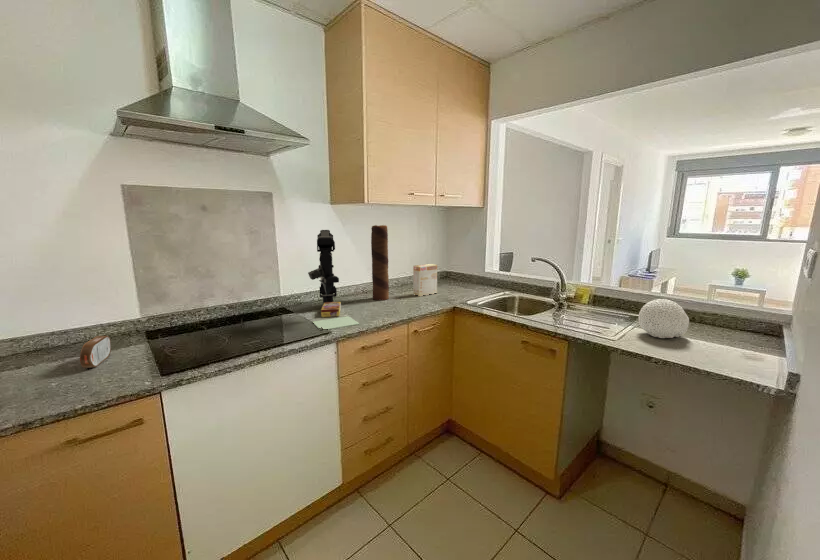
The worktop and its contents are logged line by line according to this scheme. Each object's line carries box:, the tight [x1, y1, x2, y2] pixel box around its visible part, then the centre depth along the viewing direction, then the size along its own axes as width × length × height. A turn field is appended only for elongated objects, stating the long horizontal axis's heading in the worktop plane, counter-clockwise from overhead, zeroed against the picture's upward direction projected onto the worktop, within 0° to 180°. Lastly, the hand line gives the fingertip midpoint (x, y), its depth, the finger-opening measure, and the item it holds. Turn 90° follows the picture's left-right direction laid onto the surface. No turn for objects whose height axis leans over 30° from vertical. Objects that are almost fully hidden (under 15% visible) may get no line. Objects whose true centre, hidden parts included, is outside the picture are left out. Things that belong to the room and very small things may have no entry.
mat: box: [312, 315, 360, 331], centre depth 153 cm, size 14×18×1 cm
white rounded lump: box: [637, 298, 690, 339], centre depth 137 cm, size 20×18×16 cm
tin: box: [79, 335, 112, 369], centre depth 109 cm, size 15×3×8 cm, turn 22°
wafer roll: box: [370, 224, 390, 301], centre depth 198 cm, size 10×11×45 cm
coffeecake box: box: [412, 263, 438, 297], centre depth 213 cm, size 15×7×20 cm, turn 124°
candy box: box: [320, 301, 342, 318], centre depth 170 cm, size 9×4×15 cm
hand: (327, 294), depth 160 cm, fingers closed
